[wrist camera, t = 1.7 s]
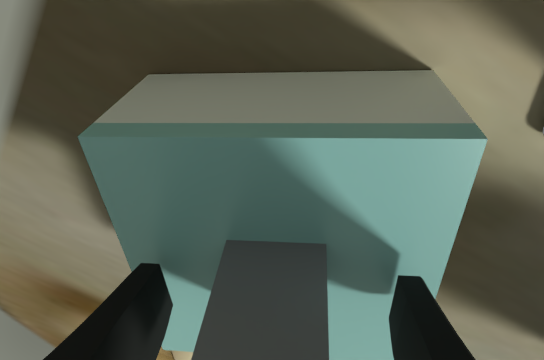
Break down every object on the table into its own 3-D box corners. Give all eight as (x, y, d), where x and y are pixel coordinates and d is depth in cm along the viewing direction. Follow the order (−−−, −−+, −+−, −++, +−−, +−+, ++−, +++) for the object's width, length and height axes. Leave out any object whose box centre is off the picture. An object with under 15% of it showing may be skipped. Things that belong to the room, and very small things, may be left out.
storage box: (433, 70, 12) (475, 123, 9) (391, 271, 18) (408, 349, 15) (148, 74, 13) (92, 122, 10) (195, 262, 19) (169, 332, 16)
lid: (464, 110, 10) (623, 311, 5) (404, 330, 15) (445, 526, 10) (107, 110, 11) (-78, 272, 6) (175, 316, 16) (113, 485, 11)
